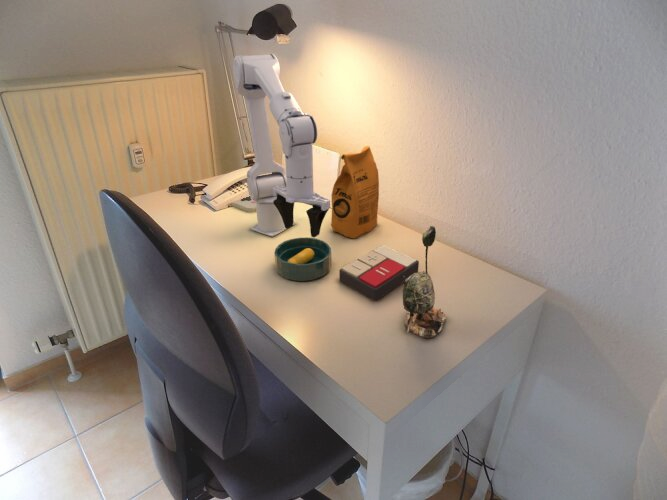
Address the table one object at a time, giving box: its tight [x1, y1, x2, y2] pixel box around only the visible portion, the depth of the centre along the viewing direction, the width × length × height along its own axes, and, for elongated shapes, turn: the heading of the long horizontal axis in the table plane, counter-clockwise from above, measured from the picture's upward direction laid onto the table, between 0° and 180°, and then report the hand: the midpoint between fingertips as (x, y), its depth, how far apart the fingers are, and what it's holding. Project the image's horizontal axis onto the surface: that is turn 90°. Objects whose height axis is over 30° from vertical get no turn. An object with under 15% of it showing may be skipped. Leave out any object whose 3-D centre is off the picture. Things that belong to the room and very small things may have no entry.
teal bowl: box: [274, 236, 332, 282], centre depth 101 cm, size 13×13×4 cm
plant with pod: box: [402, 225, 447, 339], centre depth 79 cm, size 8×11×20 cm
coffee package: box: [330, 145, 380, 239], centre depth 115 cm, size 10×12×22 cm
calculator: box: [338, 244, 420, 302], centre depth 97 cm, size 11×4×15 cm
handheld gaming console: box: [230, 196, 257, 213], centre depth 136 cm, size 10×2×15 cm
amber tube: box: [288, 248, 314, 264], centre depth 101 cm, size 10×3×3 cm, turn 145°
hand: (302, 231), depth 99 cm, fingers open, 7 cm apart
